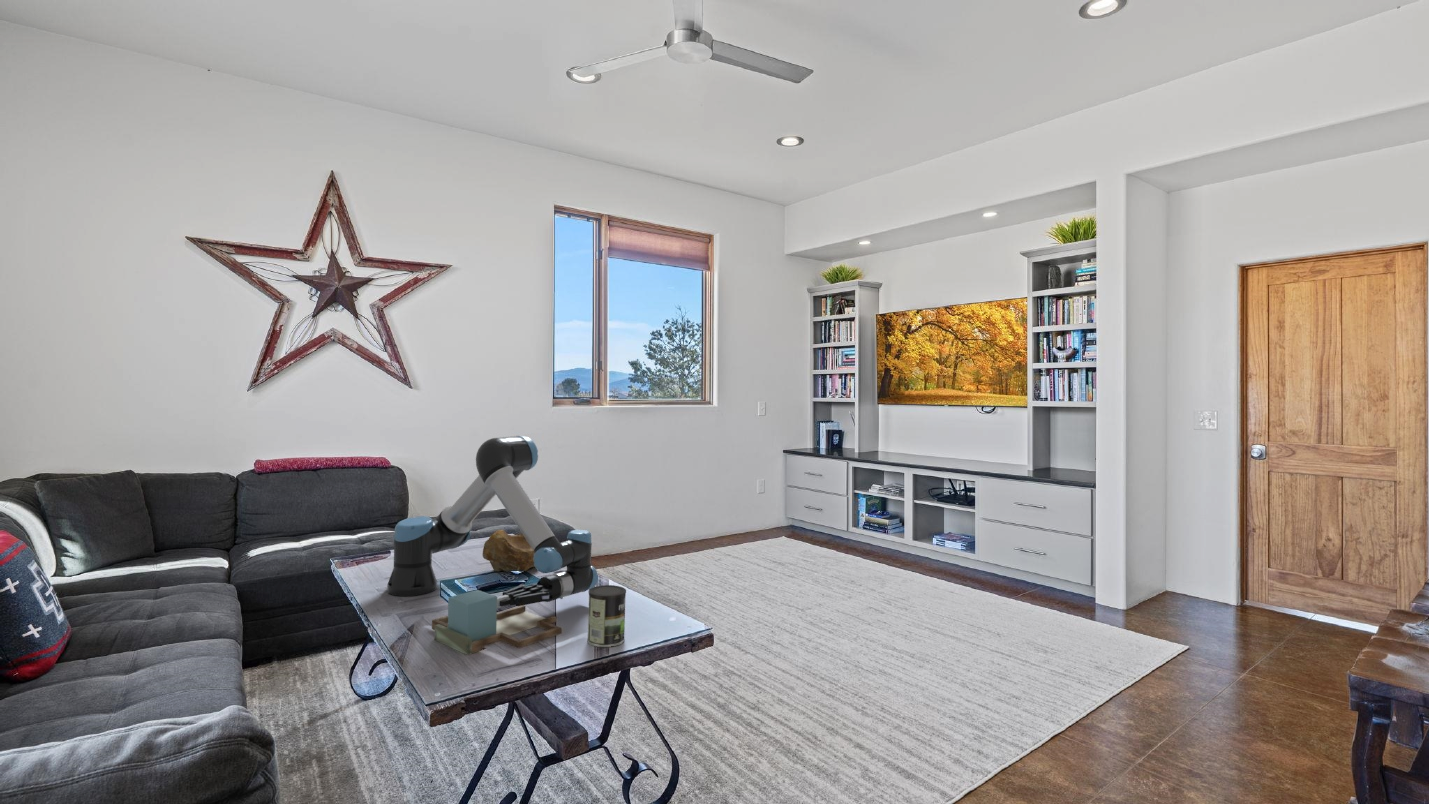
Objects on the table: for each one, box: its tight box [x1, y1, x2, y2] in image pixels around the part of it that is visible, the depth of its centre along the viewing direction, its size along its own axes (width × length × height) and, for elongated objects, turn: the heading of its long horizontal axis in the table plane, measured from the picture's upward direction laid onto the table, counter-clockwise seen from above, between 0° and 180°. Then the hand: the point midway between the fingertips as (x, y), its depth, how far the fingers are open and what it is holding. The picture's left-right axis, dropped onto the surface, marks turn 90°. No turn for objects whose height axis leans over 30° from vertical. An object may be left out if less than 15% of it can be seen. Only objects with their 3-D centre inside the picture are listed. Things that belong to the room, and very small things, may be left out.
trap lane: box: [431, 605, 563, 656], centre depth 192 cm, size 29×31×4 cm
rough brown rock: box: [482, 529, 535, 572], centre depth 255 cm, size 23×17×15 cm
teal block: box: [447, 589, 498, 642], centre depth 186 cm, size 9×9×11 cm
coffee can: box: [587, 584, 627, 648], centre depth 189 cm, size 10×10×14 cm
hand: (487, 605), depth 190 cm, fingers closed
